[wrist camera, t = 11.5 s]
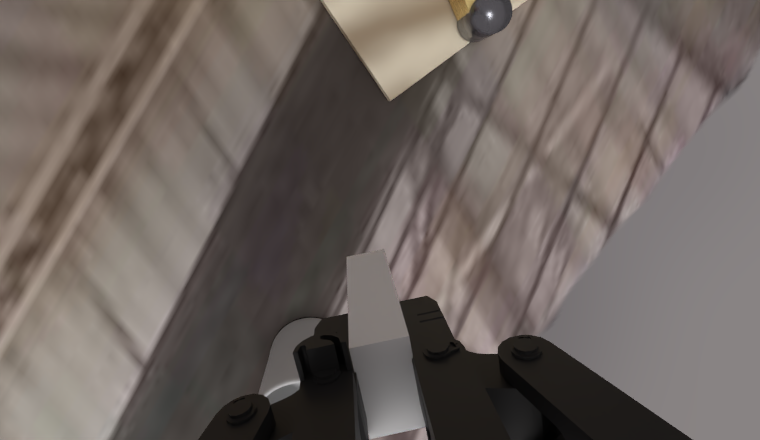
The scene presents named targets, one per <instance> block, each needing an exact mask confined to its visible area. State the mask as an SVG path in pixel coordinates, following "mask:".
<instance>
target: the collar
mask: <svg viewBox="0 0 760 440" xmlns="http://www.w3.org/2000/svg"><path fill="white" fill-rule="evenodd" d="M449 2H450V5H451V7H452V9H453V12H454V14H455V16H456V19H457V28H458V32H459V34H460V35H461V37H462V38H463V39H464V40H466V41H468V42H478V41H480V40H482V39H485V38H487V37H489V36H491V35H493V34H495V33H497V32H499V31H501V30H503V29H504V28H505V27H506V26H507V25H508V24H509V22H510V20H511V17H512V4H511V1H510V0H449Z"/></svg>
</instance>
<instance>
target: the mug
mask: <svg viewBox="0 0 760 440" xmlns="http://www.w3.org/2000/svg"><path fill="white" fill-rule="evenodd" d="M321 320H322V319H319V318H303V319H299V320H296V321H293V322H291V323H289V324H288V325H286V326H285V327H284V328H283V329H282V330H281V331H280V332H279V333H278V334H277V336H276V337H275V339H274V341H273V344H272V347H271V350H270V355H269V359H268V362H267V366H266V369H265V373H264V376H263V380H262V383H261V386H260V390H259V393H258V394H261V395H264V396H265V397H267V398H268V399H269V402H270V405H271V404H273V403H276V402H278V401H280V400H282V399H285V398H287V397H288V396H290V395H292V394H294V393H295V392H296V391H298V390H299V387H300V378H299V375H298V371H297V368H296V364H295V360H294V357H293V351H294V349H295V347H296V346H297V345H298V344H299V343H300V342H301V341H303V340H305V339H307V338H309V337H310V336H313V335H314V330H315V327H316V326H317V325H318V323H319V322H320V321H321Z"/></svg>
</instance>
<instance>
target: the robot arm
mask: <svg viewBox="0 0 760 440" xmlns="http://www.w3.org/2000/svg"><path fill="white" fill-rule="evenodd" d="M347 294H348V314H343V315H339V316H334V317H329V318H324V319H322V320H321V321H320V322H319V323H318V325H317V326H316V327H315V330H314V335H313V336H310V337H309V338H307V339H305V340H303V341H301V342H300V343H299V344H298V345H297V346H296V347H295V349H294V351H293V357H294V360H295V364H296V368H297V371H298V375H299V378H300V387H299V390H298V391H296V392H295V393H294V394H292V395H290V396H288V397H287V398H285V399H282V400H280V401H278V402H276V403H273V404H271V405H270V402H269V399H268V398H267V397H265V396H264V395H261V394H250V395H245V396H241V397H239V398H236V399H234V400H233V401H231V402H230V403H228V404H227V405H225V406H224V407H223V408H222V409H221V410H220V411H219V412H218V413H217V414H216V415H215V417H214V418H213V419H212V421H211V422H210V424H209V425H208V427H207V428H206V429H205V431H204V432H203V434H202V435H201V437H200V438H199V439H198V440H369V439H368V433H369V437H370V439H373V438H378V437H382V436H387V435H391V434H396V433H401V432H405V431H410V430H414V429H419V428H423V427H426V431H427V436H428V440H692V439H691V438H689V437H688V436H687V435H685V434H683V433H682V432H681V431H679V430H678V429H676V428H675V427H673V426H672V425H670V424H669V423H667V422H666V421H665V420H663V419H662V418H660V417H659V416H657V415H656V414H654V413H653V412H651V411H650V410H649V409H647V408H646V407H644V406H643V405H641V404H640V403H638V402H637V401H635V400H634V399H632V398H631V397H630V396H628V395H627V394H625V393H624V392H622V391H621V390H619V389H618V388H617V387H615V386H613V385H612V384H611V383H609V382H608V381H606V380H605V379H603V378H602V377H600V376H599V375H598V374H596V373H595V372H593V371H592V370H590V369H589V368H587V367H586V366H584V365H583V364H582V363H580V362H579V361H577V360H576V359H574V358H572V357H571V356H570V355H568V354H567V353H566V352H564V351H563V350H561V349H560V348H558V347H557V346H555V345H554V344H552V343H551V342H549V341H547V340H545V339H543V338H541V337H537V336H532V335H519V336H515V337H511V338H508V339H506V340H505V341H503V342H502V343H501V344H500V345H499V347H498V354H477V353H473V352H469V351H467V350H466V349H465V347H464V346H463V345H462V344H461V342H460V341H458V340H455V339H454V337H453V335H452V333H451V331H450V329H449V327H448V324H447V322H446V320H445V318H444V316H443V314H442V312H441V310H440V308H439V306H438V304H437V302H436V301H435V300H433V299H431V298H430V297H428V296H424V297H419V298H415V299H410V300H405V301H400V302H399V299H398V296H397V292H396V289H395V286H394V282H393V279H392V275H391V272H390V268H389V265H388V261H387V258H386V254H385V251H384V249H383V250H378V251H373V252H368V253H363V254H358V255H353V256H348V257H347Z"/></svg>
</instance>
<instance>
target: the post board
mask: <svg viewBox="0 0 760 440" xmlns="http://www.w3.org/2000/svg"><path fill="white" fill-rule="evenodd" d="M320 1H321V2H322V4H323V5H324V7H325V8H326V10H327V11H328V13H329V14H330V16H331V17H332V19H333V20H334V22H335V23H336V25H337V26H338V27H339V29H340V30H341V32H342V33H343V35H344V36H345V38H346V39H347V41H348V42H349V44H350V45H351V47H352V48H353V50H354V51H355V53H356V54H357V55H358V57H359V58H360V60H361V61H362V63H363V64H364V66H365V67H366V69H367V70H368V72H369V73H370V75H371V76H372V78H373V79H374V81H375V82H376V84H377V85H378V86H379V88H380V89H381V91H382V92H383V94H384V95H385V97H386V98H387V100H388V101H391V100H393V99H394V98H395V97H397V96H398V95H399V94H401V93H402V92H404V91H405V90H406V89H408V88H409V87H410V86H412V85H413V84H414V83H416V82H417V81H418V80H420V79H421V78H422V77H424V76H425V75H426V74H428V73H429V72H431V71H432V70H433V69H435V68H436V67H437V66H439V65H440V64H441V63H443V62H444V61H445V60H447V59H448V58H449V57H451V56H452V55H454V54H455V53H456V52H458V51H459V50H460V49H462V48H463V47H464V46H466V45H467V44H468V43H470V42H468V41H466V40H464V39H463V38H462V37H461V35H460V34H459V32H458V28H457V19H456V16H455V14H454V12H453V9H452V7H451V5H450V2H449V0H320ZM510 1H511V4H512V11H513V10H514V9H516V8H517V7H518V6H520V5H521V4H522V3H524V2H525V1H527V0H510Z"/></svg>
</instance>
